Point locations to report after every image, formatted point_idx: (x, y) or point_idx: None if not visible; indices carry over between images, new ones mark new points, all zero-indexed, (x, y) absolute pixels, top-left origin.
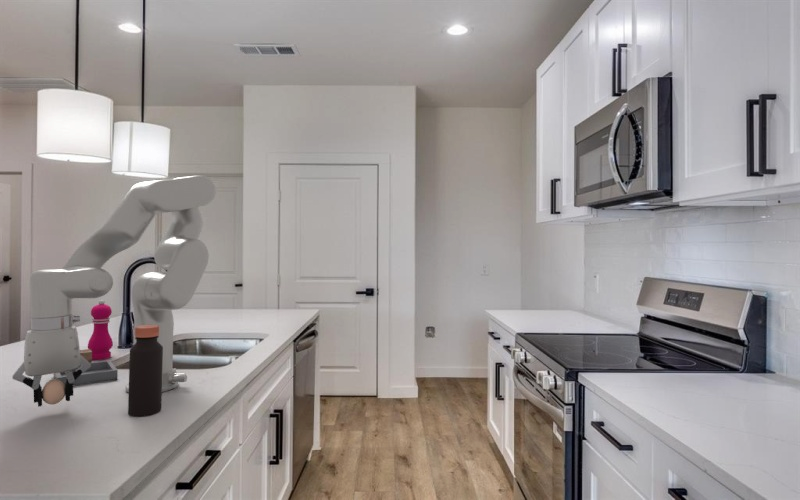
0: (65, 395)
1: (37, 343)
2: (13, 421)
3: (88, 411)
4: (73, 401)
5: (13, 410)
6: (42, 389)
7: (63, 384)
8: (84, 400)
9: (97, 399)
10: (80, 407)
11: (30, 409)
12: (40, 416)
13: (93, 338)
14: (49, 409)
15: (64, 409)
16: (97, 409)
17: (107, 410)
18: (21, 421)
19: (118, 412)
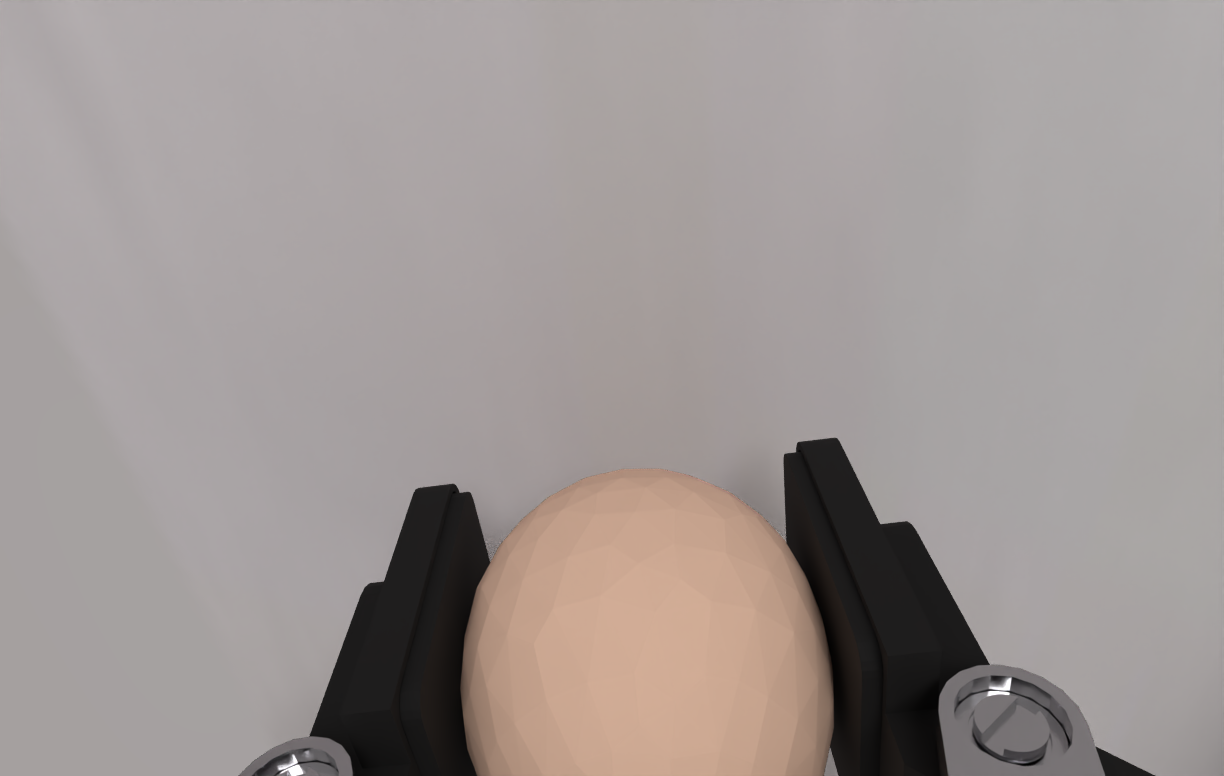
0: (795, 521)
1: None
2: (259, 590)
3: (966, 574)
4: (868, 21)
5: (44, 114)
6: (470, 754)
7: (822, 771)
8: (1021, 48)
9: (1193, 91)
10: (915, 395)
11: (296, 183)
12: (502, 541)
13: None
14: (560, 309)
15: (738, 394)
16: (1059, 547)
17: (1131, 616)
18: (346, 620)
19: (1189, 704)
